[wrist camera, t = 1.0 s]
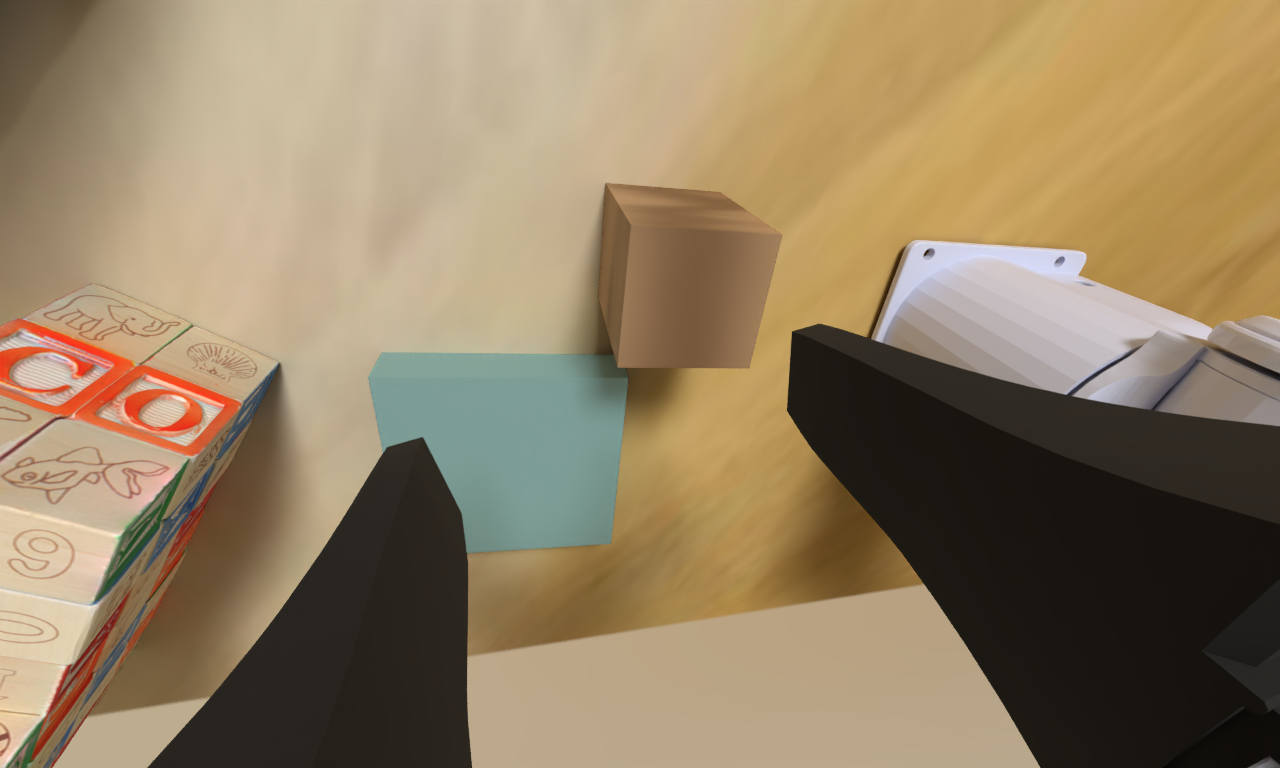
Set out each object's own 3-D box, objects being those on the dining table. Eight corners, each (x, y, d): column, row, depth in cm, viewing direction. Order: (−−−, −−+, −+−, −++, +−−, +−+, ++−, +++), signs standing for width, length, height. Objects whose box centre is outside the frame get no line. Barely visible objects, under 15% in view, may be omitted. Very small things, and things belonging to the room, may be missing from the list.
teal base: (620, 349, 23) (628, 377, 21) (605, 508, 28) (610, 543, 26) (384, 347, 21) (368, 377, 19) (414, 518, 26) (403, 557, 24)
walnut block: (719, 192, 20) (782, 234, 15) (700, 299, 22) (748, 368, 17) (605, 182, 19) (630, 224, 14) (597, 296, 21) (617, 367, 16)
